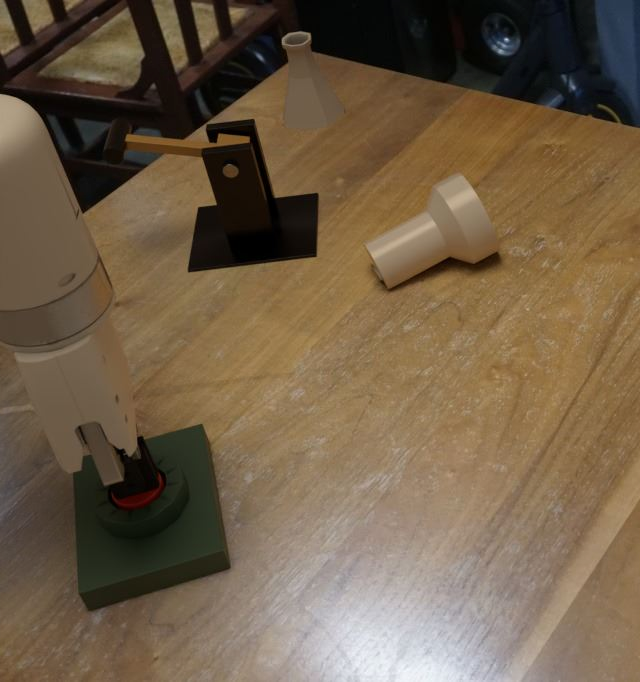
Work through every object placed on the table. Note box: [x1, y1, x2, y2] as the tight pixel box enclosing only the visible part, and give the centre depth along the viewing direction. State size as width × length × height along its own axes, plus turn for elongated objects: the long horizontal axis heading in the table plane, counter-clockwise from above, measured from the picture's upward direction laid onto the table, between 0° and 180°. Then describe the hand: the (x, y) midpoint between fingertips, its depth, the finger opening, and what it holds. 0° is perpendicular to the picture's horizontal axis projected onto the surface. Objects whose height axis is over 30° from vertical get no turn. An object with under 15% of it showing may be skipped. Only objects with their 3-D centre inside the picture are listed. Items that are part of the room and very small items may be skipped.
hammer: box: [101, 117, 250, 166], centre depth 99 cm, size 12×5×2 cm, turn 96°
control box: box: [72, 423, 232, 612], centre depth 81 cm, size 13×10×4 cm
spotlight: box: [362, 172, 501, 290], centre depth 100 cm, size 8×11×8 cm
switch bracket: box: [187, 118, 320, 273], centre depth 103 cm, size 12×10×12 cm
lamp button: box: [111, 472, 165, 511], centre depth 80 cm, size 4×4×2 cm
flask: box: [281, 30, 345, 132], centre depth 119 cm, size 7×7×10 cm
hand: (137, 485), depth 79 cm, fingers closed
